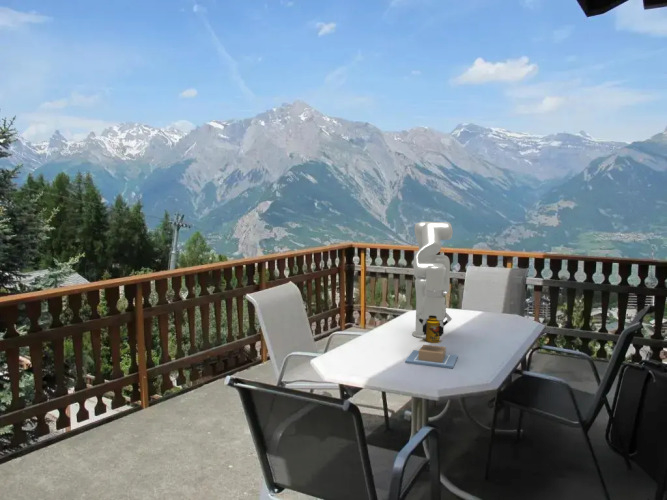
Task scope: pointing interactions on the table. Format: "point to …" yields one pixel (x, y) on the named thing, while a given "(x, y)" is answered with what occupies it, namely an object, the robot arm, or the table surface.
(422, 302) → the robot arm
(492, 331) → the table surface
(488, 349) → the table surface
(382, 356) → the table surface
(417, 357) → the board
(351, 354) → the table surface
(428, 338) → the condiment
